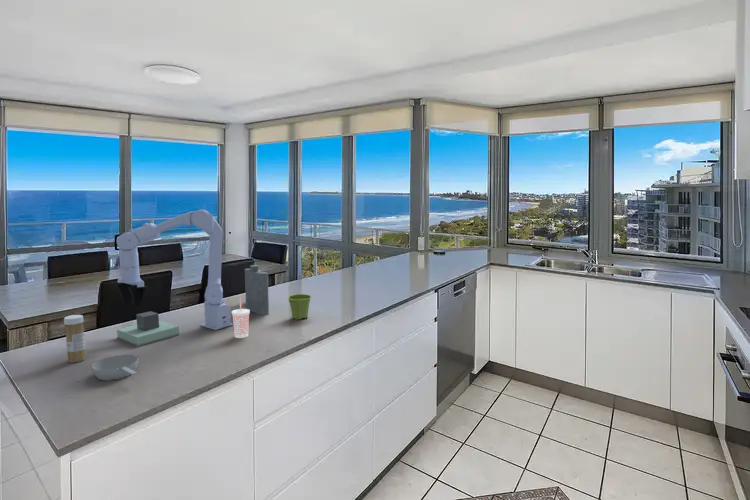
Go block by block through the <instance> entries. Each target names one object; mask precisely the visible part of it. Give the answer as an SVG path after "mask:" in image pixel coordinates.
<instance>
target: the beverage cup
mask: <svg viewBox="0 0 750 500" xmlns="http://www.w3.org/2000/svg"><path fill="white" fill-rule="evenodd" d="M250 314H251V311H250V310H249V309H246V308H242V297H241V296H239V309H234V310H232V311H231V316H232V322H233V330H234V331H233V333H234V338H237V339H244V338H247V337H248V336H249V324H250V322H249V321H250Z"/></svg>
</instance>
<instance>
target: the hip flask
mask: <svg viewBox="0 0 750 500" xmlns="http://www.w3.org/2000/svg"><path fill="white" fill-rule="evenodd" d="M259 267H260V265H258V264H253V265H252V264H251V265H249V268H244V282H245V283H244V286H245V287H244V289H245V290H244V291H245V309H249V310H250V312H252V313H254V314H257V315H263V316H267V315H269V314H270V301H269V299H270V298H269V273H268V271H267V272H266V271H261V270H260V271H258V270H259Z"/></svg>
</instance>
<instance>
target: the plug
mask: <svg viewBox="0 0 750 500" xmlns="http://www.w3.org/2000/svg"><path fill="white" fill-rule="evenodd" d="M159 317H160V316H159V313H158V312H154V311H150V310H149V311H145V312H142V313H138V314H137V313H136V325H137V328H138V329H140V330H143V331H147V330H151V329H155V328H159V320H160V318H159Z"/></svg>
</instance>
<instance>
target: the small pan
mask: <svg viewBox="0 0 750 500" xmlns="http://www.w3.org/2000/svg"><path fill="white" fill-rule="evenodd" d="M138 365H139V357H138V356H137V355H135V354H118V355H112V356H108V357H105V358H101V359H99V360H97V361H96V362H93V364H92V365H91V368H92V373H93V375H94V376H95V377H96V378H97V379H98V380H100V379H101V380H100V381H112V380H111V379H116V380H119V379H118V378H121V379H123V378H122V377H124V378H126V377H125V376H127V377H128V375H129V376H136V375H137V374H138V372H137V371H136V369H137V367H138ZM117 368H118V369H117ZM130 374H131V375H130Z"/></svg>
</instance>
